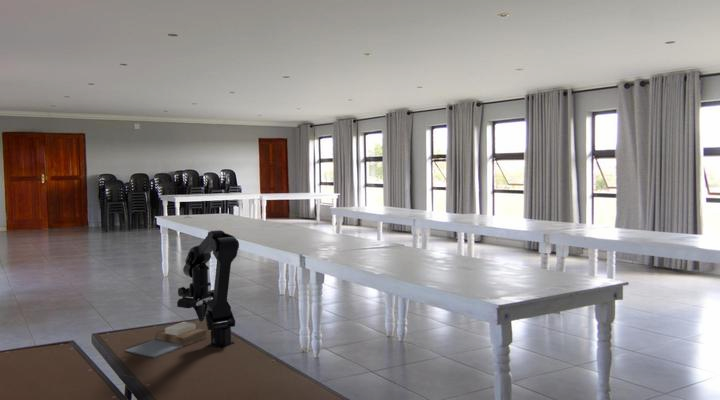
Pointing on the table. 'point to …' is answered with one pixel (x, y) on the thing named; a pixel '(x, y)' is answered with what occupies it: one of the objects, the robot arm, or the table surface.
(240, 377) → the table surface
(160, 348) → the mat
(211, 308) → the robot arm
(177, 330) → the cream rectangular block
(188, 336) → the deck
